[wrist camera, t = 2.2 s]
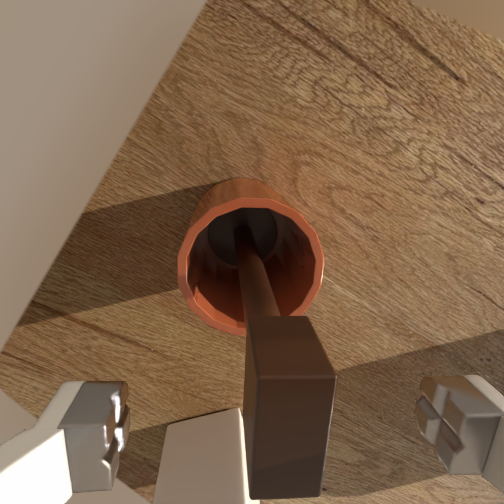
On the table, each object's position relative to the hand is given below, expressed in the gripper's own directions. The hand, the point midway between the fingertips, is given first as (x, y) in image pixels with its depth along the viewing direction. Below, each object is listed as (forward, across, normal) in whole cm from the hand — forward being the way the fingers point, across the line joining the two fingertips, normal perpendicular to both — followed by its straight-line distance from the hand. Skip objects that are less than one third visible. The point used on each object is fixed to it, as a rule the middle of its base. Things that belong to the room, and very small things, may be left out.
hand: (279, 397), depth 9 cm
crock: (+19, 0, 0) cm, 19 cm away
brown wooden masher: (+19, 0, 0) cm, 19 cm away
